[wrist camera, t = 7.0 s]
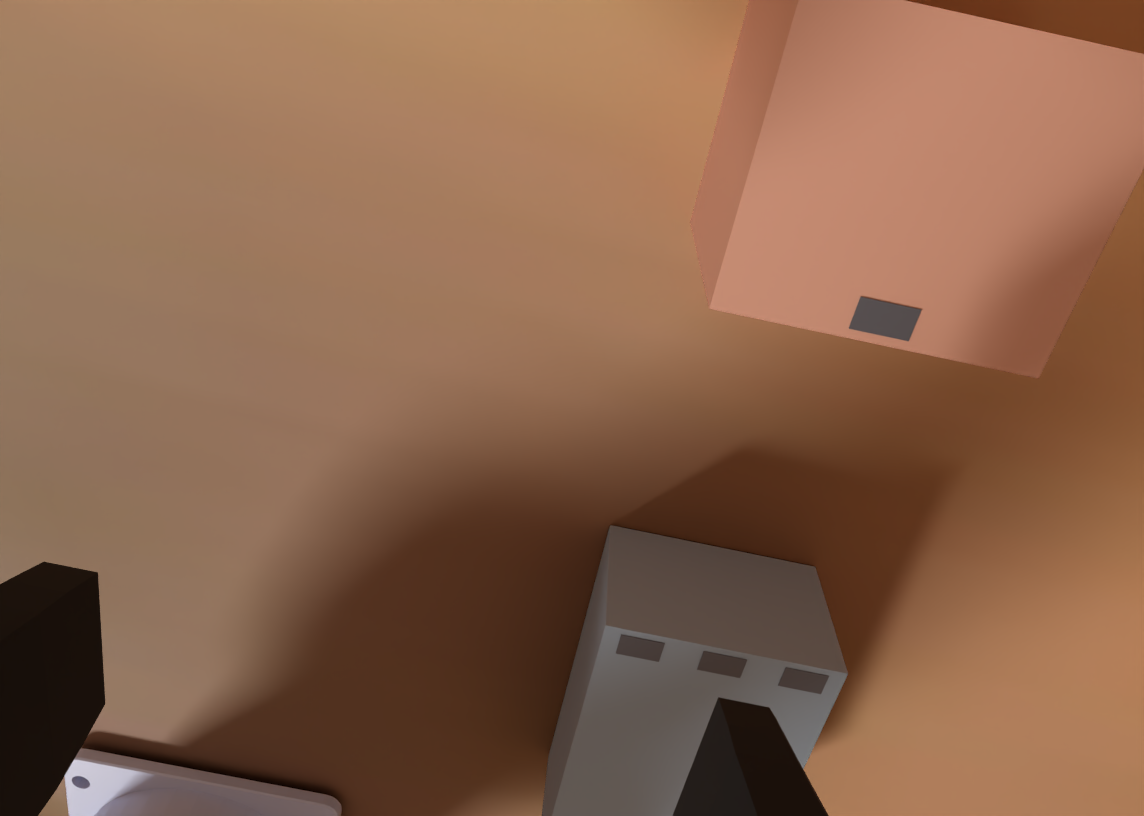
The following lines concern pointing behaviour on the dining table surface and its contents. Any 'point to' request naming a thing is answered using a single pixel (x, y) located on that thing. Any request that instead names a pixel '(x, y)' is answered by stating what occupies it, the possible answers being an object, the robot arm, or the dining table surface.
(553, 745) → the slotted gray housing
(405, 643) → the dining table surface
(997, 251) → the stub
